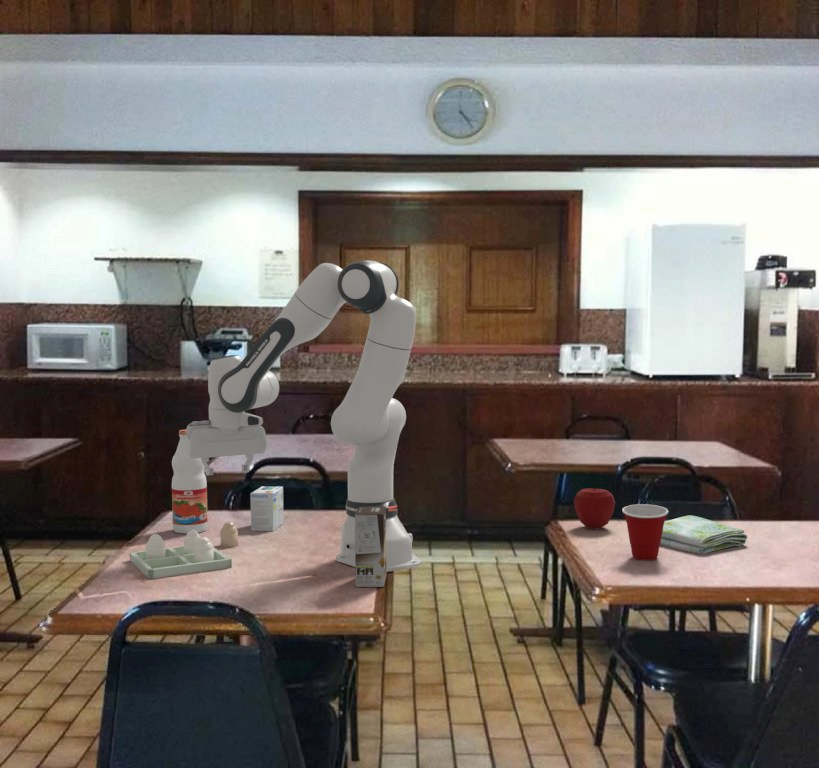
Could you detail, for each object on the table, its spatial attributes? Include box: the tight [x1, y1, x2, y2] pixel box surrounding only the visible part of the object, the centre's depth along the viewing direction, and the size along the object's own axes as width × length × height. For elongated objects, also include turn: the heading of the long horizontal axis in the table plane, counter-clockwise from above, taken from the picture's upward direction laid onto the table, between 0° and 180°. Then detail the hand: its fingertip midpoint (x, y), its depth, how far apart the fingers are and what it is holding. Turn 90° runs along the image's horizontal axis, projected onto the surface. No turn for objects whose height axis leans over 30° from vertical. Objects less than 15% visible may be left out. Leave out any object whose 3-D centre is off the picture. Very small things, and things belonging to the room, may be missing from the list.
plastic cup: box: [622, 503, 669, 561], centre depth 226 cm, size 11×11×12 cm
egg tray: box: [129, 545, 233, 580], centre depth 223 cm, size 19×19×2 cm
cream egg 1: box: [145, 533, 166, 560], centre depth 224 cm, size 4×4×7 cm
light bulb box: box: [249, 485, 284, 532], centre depth 264 cm, size 11×7×11 cm, turn 172°
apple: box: [573, 485, 616, 530], centre depth 260 cm, size 11×11×12 cm
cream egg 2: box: [183, 530, 202, 555], centre depth 228 cm, size 4×4×7 cm
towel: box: [660, 514, 748, 555], centre depth 242 cm, size 18×21×5 cm
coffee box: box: [355, 506, 387, 588], centre depth 207 cm, size 9×6×16 cm
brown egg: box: [219, 521, 239, 548], centre depth 241 cm, size 4×4×7 cm
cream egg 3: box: [194, 536, 214, 563], centre depth 221 cm, size 4×4×7 cm
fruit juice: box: [171, 429, 208, 535], centre depth 260 cm, size 9×9×28 cm
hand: (227, 473), depth 240 cm, fingers open, 8 cm apart
